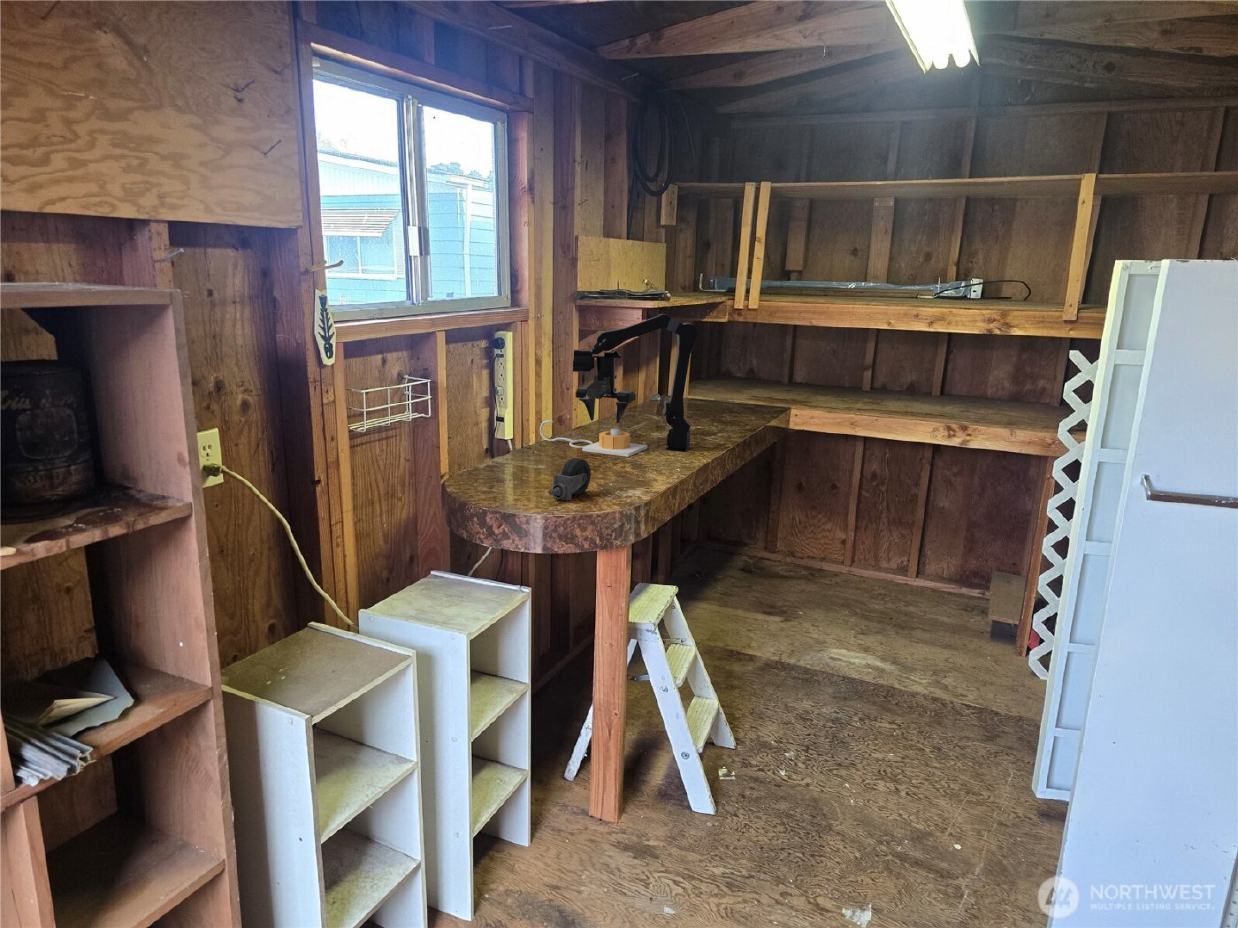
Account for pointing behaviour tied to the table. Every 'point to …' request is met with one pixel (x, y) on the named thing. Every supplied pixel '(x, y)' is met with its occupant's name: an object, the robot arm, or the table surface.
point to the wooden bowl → (614, 440)
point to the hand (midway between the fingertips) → (604, 421)
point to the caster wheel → (571, 479)
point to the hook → (563, 438)
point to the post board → (621, 452)
